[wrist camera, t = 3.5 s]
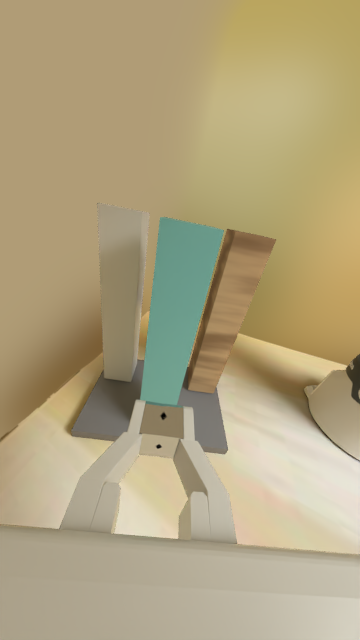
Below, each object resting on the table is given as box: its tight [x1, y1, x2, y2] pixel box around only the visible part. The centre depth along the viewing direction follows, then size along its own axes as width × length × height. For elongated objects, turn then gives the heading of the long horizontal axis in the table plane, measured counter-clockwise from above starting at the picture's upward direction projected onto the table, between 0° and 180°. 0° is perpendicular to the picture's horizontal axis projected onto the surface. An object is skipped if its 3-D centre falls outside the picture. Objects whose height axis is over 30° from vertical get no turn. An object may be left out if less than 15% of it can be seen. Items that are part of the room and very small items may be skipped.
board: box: [71, 359, 228, 454], centre depth 34 cm, size 16×23×2 cm
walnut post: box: [188, 229, 276, 393], centre depth 30 cm, size 5×5×28 cm
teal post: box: [140, 217, 224, 405], centre depth 23 cm, size 5×5×28 cm
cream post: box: [97, 203, 149, 382], centre depth 29 cm, size 5×5×28 cm
